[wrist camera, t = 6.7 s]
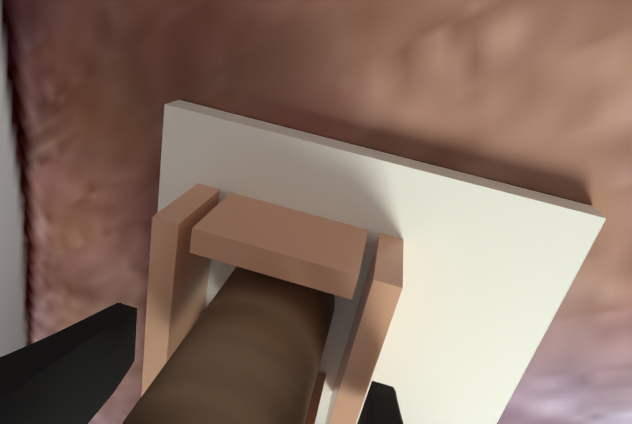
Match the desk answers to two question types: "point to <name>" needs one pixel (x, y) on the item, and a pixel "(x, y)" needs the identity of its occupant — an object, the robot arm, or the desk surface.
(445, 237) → the off-white board
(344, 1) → the desk surface
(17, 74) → the desk surface
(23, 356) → the robot arm
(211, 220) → the square wooden frame
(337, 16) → the desk surface
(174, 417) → the walnut peg
